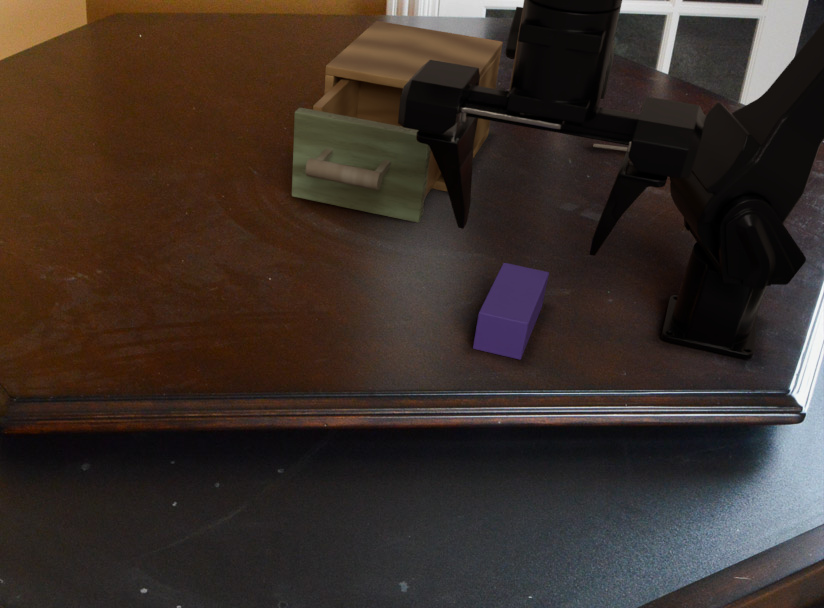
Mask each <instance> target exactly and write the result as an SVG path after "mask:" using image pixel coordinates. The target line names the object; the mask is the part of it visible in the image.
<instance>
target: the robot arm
mask: <svg viewBox="0 0 824 608" xmlns="http://www.w3.org/2000/svg"><path fill="white" fill-rule="evenodd" d="M622 3H623V0H523V5H522V7H521V6H516V7H515V10H514V15H513V18H512V22H511V25H510V29H509V32H508V38H507V42H506V46H505V57H506V58H508V59H510V60H513V67H512V70H511V71H512V72H511V78H510V83H509V90H503V89H498V88H495V89H492V88H487V87H481V86H479V81H480V73H479V68H477V67H471V66H465V65H459V64H453V63H447V62H441V61H435V60H429V61H428V62H427V63H426V64H424V65H423V66H422V67H421V68H420V69H419V70H418V71H417V72H416V73H415V74H414V75H413V77H412V78H411V79H410V80H409V81H408V82H407V83H406V84H405V86H404V87H403V91H402V94H401V98H400V107H399V117H398V123H399V124H400V125H401V126H402V127H404V128H409V129H415V130H418V131H417V135H416V140H417V141H418V142H420V143H423V144H427V145H428V146H429V147H430V149H431V151H432V153H433V156H434V158H435V160H436V162H437V165H438V167H439V169H440V172H441V174H442V176H443V179H444V182H445V185H446V188H447V191H448V192H447V191H446V192H447V194H448V198H449V201H450V205H451V209H452V212H453V216H454V218H455V219H454V220H455V223H456V226H457V228H458V229H461V230H463V229H465V228H466V225H467V222H468V219H469V213H470V208H471V202H472V184H473V183H472V182H473V163H474V158H473V146H474V138H475V133H476V127H477V122H478V118H479V119H485V120H490V122H495V123H502V124H507V125H513V126H517V127H523V128H530V129H536V130H541V131H546V132H552V133H557V134H561V135H569V136H574V137H579V138H584V139H589V140H595V141H601V142H607V143H612V144H618V145H623V146H627V147H628V148H627V151H625V154H624V156H623V158H622V161H621V164H620V167H619V168H618V172H617V174H616V177H615V180H614V182H613V185H612V187H611V190H610V193H609V195H608V197H607V199H606V202H605V205H604V208H603V210H602V213H601V215H600V218H599V219H598V223H597V225H596V228H595V230H594V233H593V236H592V239H591V243H590V248H589V256H592V257H595V256H596V255H597V254H598V252H599V251H600V248H601V247H602V246H603V244H604V243H605V241H606V240H607V238H609V235H610V234H611V232H612V231H613V229H614V228H615V226H616V225H617V223H618V222H619V221H620V219H621V218H622V216H623V215H624V213H626V212H627V210H628V209H629V208H630V207H631V206H632V205H633V204H634V202H635V201H636V200H637V199H638V198H639V197H640V196H641V195H642V194H643V193H644V191H645V190H647V188H649V187H650V188H651V187H652V188H663V187H666V184H667V181H668V178H669V189H670V190H669V191H670V197H671V199H672V201H673V203H674V206H675V207H676V208H677V210H678V211H679V213H680V214H681V216H682V217H683V226H684V228H685V229H686V231H688V232H689V233H690V234H691V235H692V237H693V238H694V240H695V241H696V242H695V243H694V244H693V246H692V249H691V253H690V256H689V259H688V262H687V265H686V268H685V272H684V275H683V279H682V282H681V285H680V289H679V291H678V294H677V295H674V294H673V295H671V296H670V297H669V300H668V304H667V308H666V313H665V317H664V322H663V327H662V331H661V336H660V337H661V339H662V340H663V341H665V342H667V343H673V344H677V345H680V346H687V347H691V348H695V349H699V350H704V351H707V352H708V351H709V352H713V353H717V354H722V355H727V356H730V357H731V356H732V357H735V358H740V359H745V360H751V359H752V358H753V357H754V353H755V348H756V347H755V346H756V335H757V323H758V322H757V321H758V313H759V310H760V307H761V305H762V302H763V299H764V297H765V294H766V291H767V288H768V287H771V286H772V285H777V286H786V285H788V284H790V282H791V281H792V280H793V279H794V277H795V276H796V274H798V273H799V271H800V270H801V269H802V267H803V266H804V264H805V263H806V261H807V257H806V255H805V254H804V252H803V251H802V250H801V248H800V247H799V245H798V244H797V242H796V241H795V239H794V238H793V236H792V235H791V233H790V232H789V231H788V229H787V227H786V226H785V225H784V223H785V221H786V220H787V218H788V217H789V216H790V214H791V213H792V211H793V210H794V208H795V207H796V205H797V203H798V202H799V201H800V199H801V198H802V196H804V194H805V191H806V188H807V185H808V183H809V179H810V176H811V174H812V170H813V167H814V165H815V162H816V159H817V156H818V152H819V150H820V147H821V145H822V143H823V142H824V21H822V23H821V24H820V25H819V26H818V27H817V29H816V30H815V32H814V33H813V34H812V35H811V36H810V38H808V40H807V41H806V42H805V44H803V46H802V47H801V49H800V50H799V51H798V52H797V54H796V55H795V56H794V57H793V58H792V60H791V61H789V62H788V64H787V65H786V67H785V68H784V69H783V71H782V72H781V73H780V74H779V76H778V77H776V78H775V80H774V81H773V82H772V84H771V85H770V86H769V87H768V88H767V90H766V91H765V92H764V93H763V94H762V95H761V96H760V97H758V98H757V99H755V100H753V101H751V102H749V103H748V104H746V105H744V106H742V107H741V108H739V109H737V110H735V111H733V112H730V110H728V108H727V107H726V106H725V105H724V104H723V103H722V102H717V103H715V104H714V106H712V107H711V108H710V109H709V110H708V111H707V113H706V114H705V113H704V111H703V109H702V107H701V105H700V104H693V103H687V102H682V101H676V100H671V99H664V98H659V97H653V96H647V95H646V96H645V97H644V100H643V103H642V107H641V110H640V112H639V113H636V112H631V111H624V110H617V109H613V108H608V107H601V106H600V103H601V100H604V99H605V98H606V94H607V91H608V87H609V82H610V77H611V73H612V69H613V66H614V65H613V64H614V60H615V52H614V47H615V43H616V41H615V35H616V32H617V28H618V23H619V17H620V14H621V9H622Z"/></svg>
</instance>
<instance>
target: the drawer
mask: <svg viewBox="0 0 824 608" xmlns="http://www.w3.org/2000/svg"><path fill="white" fill-rule="evenodd" d="M402 91H403V89H402V88H397V87H391V86H386V85H380V84H375V83H369V82H364V81H358V80H352V79H347V78H342V79H341V80H340V81H339V82H338V83H337V84H336V85H335V86H334V87H333V88H331V89H330V90H329V91H328V92H327V93H326V94H325V95H324V94H323V96H322V97H321V98H320V99H319V100H318V101H317V102H316V103H314V104H313V106H312V109H311V108H305V107H300V106H299V107H298V108H297V109H296V110H295V111H294V117H293V118H294V119H293V144H292V145H293V146H292V147H293V148H292V173H291V175H292V176H291V197H293V198H298V199H303V200H307V201H313V202H317V203H322V204H327V205H330V206H331V205H332V206H336V207H340V208H345V209H351V210H355V211H360V212H365V213H370V214H374V215H379V216H384V217H389V218H394V219H399V220H403V221H407V222H413V223H420V221H421V220H422V218H423V215H424V208H425V201H426V197H427V195H428V194H429V193H430V191H431V190H432V187H433V185H434V184H435V182H436V181H437V179H438V178H439V176H440V175H441V172H440V169H439V167H438V165H437V162H436V160H435V158H434V156H433V153H432V151H431V149H430V147H429V146H428V145H427V144H423V143H420V142H418V141H417V140H416V135H417V131H418V130H415V129H409V128H404V127H402V126H401V125H400V124H399V123H398V117H399V107H400V98H401V94H402Z"/></svg>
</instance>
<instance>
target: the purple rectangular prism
mask: <svg viewBox="0 0 824 608" xmlns="http://www.w3.org/2000/svg"><path fill="white" fill-rule="evenodd" d="M549 275H550V272H549V271H545V270H540V269H537V268H536V269H535V268H531V267H527V266H521V265H517V264H513V263H508V262H503V263H502V265H501V266H500V269H499V271H498V273H497V274H496V277H495V279H494V281H493V283H492V284H491V287H490V289H489V291H488V293H487V295H486V297H485V300H484V301H483V303H482V306H481V307H480V309H479V312H478V315H477V321H476V327H475V331H474V339H473V344H472V349H473V350H476V351H481V352H485V353H489V354H492V355H493V354H494V355H498V356H502V357H507V358H511V359H515V360H519V361H520V360H522V358H523V355H524V353H525V350H526V348H527V345H528V343H529V340H530V338H531V335H532V332H533V330H534V328H535V325H536V324H537V321H538V317H539V315H540V313H541V311H542V308H543V303H544V300H545V295H546V290H547V286H548V281H549V277H550V276H549Z"/></svg>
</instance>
